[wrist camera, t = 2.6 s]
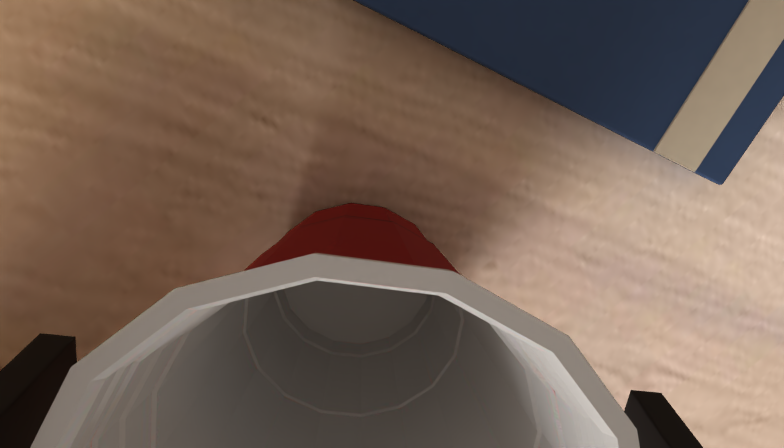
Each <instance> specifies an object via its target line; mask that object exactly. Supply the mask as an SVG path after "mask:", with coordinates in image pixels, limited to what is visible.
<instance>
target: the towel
mask: <svg viewBox="0 0 784 448" xmlns="http://www.w3.org/2000/svg"><path fill="white" fill-rule="evenodd" d="M354 1H356V2H358V3H360V4H362V5H364V6H366V7H368V8H370V9H372V10H374V11H376V12H378V13H380V14H382V15H384V16H386V17H388V18H390V19H391V20H393V21H395V22H397V23H399V24H401V25H403V26H405V27H407V28H409V29H411V30H413V31H415V32H417V33H419V34H421V35H423V36H425V37H427V38H429V39H431V40H433V41H435V42H437V43H439V44H441V45H443V46H445V47H447V48H449V49H451V50H453V51H455V52H457V53H459V54H461V55H463V56H465V57H467V58H469V59H471V60H473V61H475V62H477V63H479V64H481V65H482V66H484V67H486V68H488V69H490V70H492V71H494V72H496V73H498V74H500V75H502V76H504V77H506V78H508V79H510V80H512V81H514V82H516V83H518V84H520V85H522V86H524V87H526V88H528V89H530V90H532V91H534V92H536V93H538V94H540V95H542V96H544V97H546V98H548V99H550V100H552V101H554V102H556V103H558V104H560V105H562V106H564V107H566V108H568V109H570V110H571V111H573V112H575V113H577V114H579V115H581V116H583V117H585V118H587V119H589V120H591V121H593V122H595V123H597V124H599V125H601V126H603V127H605V128H607V129H609V130H611V131H613V132H615V133H617V134H619V135H621V136H623V137H625V138H627V139H629V140H631V141H633V142H635V143H637V144H639V145H641V146H643V147H645V148H647V149H649V150H651V151H653V152H655V153H657V154H659V155H660V156H662V157H664V158H666V159H668V160H670V161H672V162H674V163H676V164H678V165H680V166H682V167H684V168H686V169H688V170H690V171H692V172H694V173H696V174H698V175H700V176H702V177H704V178H706V179H708V180H710V181H712V182H714V183H716V184H718V185H722V184H723V183H724V181H725V180H726V179H727V177H728V176H729V174H730V173H731V171H732V170H733V168H734V167H735V165H736V164H737V163H738V161H739V160H740V158H741V157H742V155H743V154H744V152H745V151H746V150H747V148H748V147H749V145H750V144H751V142H752V141H753V139H754V138H755V136H756V135H757V134H758V132H759V131H760V129H761V128H762V126H763V125H764V123H765V122H766V120H767V119H768V118H769V116H770V115H771V113H772V112H773V110H774V109H775V107H776V106H777V104H778V103H779V102H780V100H781V99H782V97H783V96H784V0H354Z"/></svg>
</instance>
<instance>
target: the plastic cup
mask: <svg viewBox="0 0 784 448" xmlns="http://www.w3.org/2000/svg"><path fill="white" fill-rule="evenodd" d="M30 448H640V446H639V439H638V433H637V429H636V427H635V426H634V425H633V423H632V422H631V421H630V419H629V418H628V416H627V415H626V414H625V412H624V411H623V410H622V408H621V407H620V405H619V404H618V403H617V401H616V400H615V399H614V397H613V396H612V394H611V393H610V392H609V390H608V389H607V388H606V386H605V385H604V383H603V382H602V381H601V379H600V378H599V377H598V375H597V374H596V372H595V371H594V370H593V368H592V367H591V366H590V364H589V363H588V361H587V360H586V359H585V357H584V356H583V355H582V353H581V352H580V350H579V349H578V348H577V346H576V345H575V344H574V342H573V341H572V339H571V338H570V337H569V336H568V335H566V334H564V333H563V332H561V331H559V330H557V329H555V328H554V327H552V326H550V325H548V324H547V323H545V322H543V321H541V320H539V319H538V318H536V317H534V316H532V315H531V314H529V313H527V312H525V311H523V310H522V309H520V308H518V307H516V306H515V305H513V304H511V303H509V302H507V301H506V300H504V299H502V298H500V297H499V296H497V295H495V294H493V293H491V292H490V291H488V290H486V289H484V288H483V287H481V286H479V285H477V284H475V283H474V282H472V281H470V280H468V279H466V278H465V277H463V276H461V275H460V274H459V273H458V272H457V271H456V270H455V268H454V267H453V266H452V265H451V264H450V263H449V262H448V260H447V259H446V258H445V257H444V256H443V255H442V253H441V252H440V251H439V250H438V249H437V248H436V246H435V245H434V244H433V243H431V242H429V241H427V240H426V238H425V237H424V236H423V234H422V233H421V232H420V231H419V229H418V228H417V227H416V225H415V224H413V223H411V222H409V221H408V220H406V219H404V218H402V217H400V216H399V215H397V214H395V213H393V212H391V211H390V210H388V209H386V208H383V207H378V206H370V205H362V204H354V203H348V204H345V205H341V206H337V207H333V208H329V209H325V210H321V211H317V212H314V213H313V214H312V215H310V216H309V217H308V218H306V219H305V220H304V221H302V222H301V223H299V224H298V225H297V226H295V227H294V228H293V229H291V230H290V231H289V232H287V234H286V235H285V236H284V237H283V238H282V239H281V240H280V241H279V242H278V243H276V244H275V245H273V246H272V247H271V248H269V249H268V250H267V251H265V252H264V253H263V254H261V255H260V256H259V257H258V258H257V259H256V260H255V261H254V262H253V263H252V264H250V265H249V266H248V267H247V268H246V269H245V270H244V271H242V272H238V273H234V274H230V275H226V276H222V277H218V278H214V279H210V280H206V281H202V282H198V283H194V284H190V285H186V286H182V287H178V288H175V289H173V290H172V291H171V292H169V293H168V294H167V295H165V296H164V297H163V298H161V299H160V300H159V301H158V302H156V303H155V304H154V305H152V306H151V307H150V308H148V309H147V310H146V311H144V312H143V313H142V314H140V315H139V316H138V317H136V318H135V319H134V320H132V321H131V322H130V323H128V324H127V325H126V326H124V327H123V328H122V329H121V330H119V331H118V332H117V333H115V334H114V335H113V336H111V337H110V338H109V339H107V340H106V341H105V342H103V343H102V344H101V345H99V346H98V347H97V348H95V349H94V350H93V351H91V352H90V353H89V354H87V355H86V356H85V357H84V358H82V359H81V360H80V361H78V362H77V363H76V364H74V365H73V366H72V367H71V368H70V370H69V372H68V374H67V376H66V378H65V380H64V382H63V384H62V386H61V388H60V390H59V392H58V394H57V396H56V398H55V400H54V402H53V404H52V406H51V408H50V410H49V411H48V413H47V415H46V417H45V419H44V421H43V423H42V425H41V427H40V429H39V431H38V433H37V435H36V437H35V439H34V441H33V443H32V445H31V447H30Z"/></svg>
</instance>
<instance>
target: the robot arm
mask: <svg viewBox="0 0 784 448" xmlns="http://www.w3.org/2000/svg"><path fill="white" fill-rule="evenodd" d="M76 363H77V356H76V340H75V337H72V336H62V335H51V334H41V333H40V334H39V335H38V336H37V337H36V338H35V339H34V340H33V341H32V342H31V343H30V344H29V345H28V346H27V347H25V348H24V349H23V350H22V351H21V352H20V353H19V354H18V355H17V356H16V357H15V358H14V359H13V360H12V361H10V362H9V363H8V364H7V365H6V366H5V367H4V368H3V369H2V370H1V371H0V448H30V447H31V445H32V443H33V441H34V439H35V437H36V435H37V433H38V431H39V429H40V427H41V425H42V423H43V421H44V419H45V417H46V415H47V413H48V411H49V410H50V408H51V406H52V404H53V402H54V400H55V398H56V396H57V394H58V392H59V390H60V388H61V386H62V384H63V382H64V380H65V378H66V376H67V374H68V372H69V370H70V368H71V367H72V366H73V365H74V364H76ZM624 412H625V414H626V415H627V416H628V418H629V419H630V421H631V422H632V423H633V425H634V426H635V427H636V429H637V433H638V439H639V446H640V448H703V447H702V446H701V444H700V443H699V442H698V440H697V439H696V438H695V436H694V435H693V434H692V433H691V431H690V430H689V429H688V427H687V426H686V425H685V423H684V422H683V421H682V420H681V418H680V417H679V416H678V414H677V413H676V412H675V410H674V409H673V408H672V406H671V405H670V404H669V403H668V401H667V400H666V399H665V397H664V396H663V395H662V393H656V392H645V391H635V390H631V392H630V395H629V398H628V401H627V404H626V407H625V411H624Z"/></svg>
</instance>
